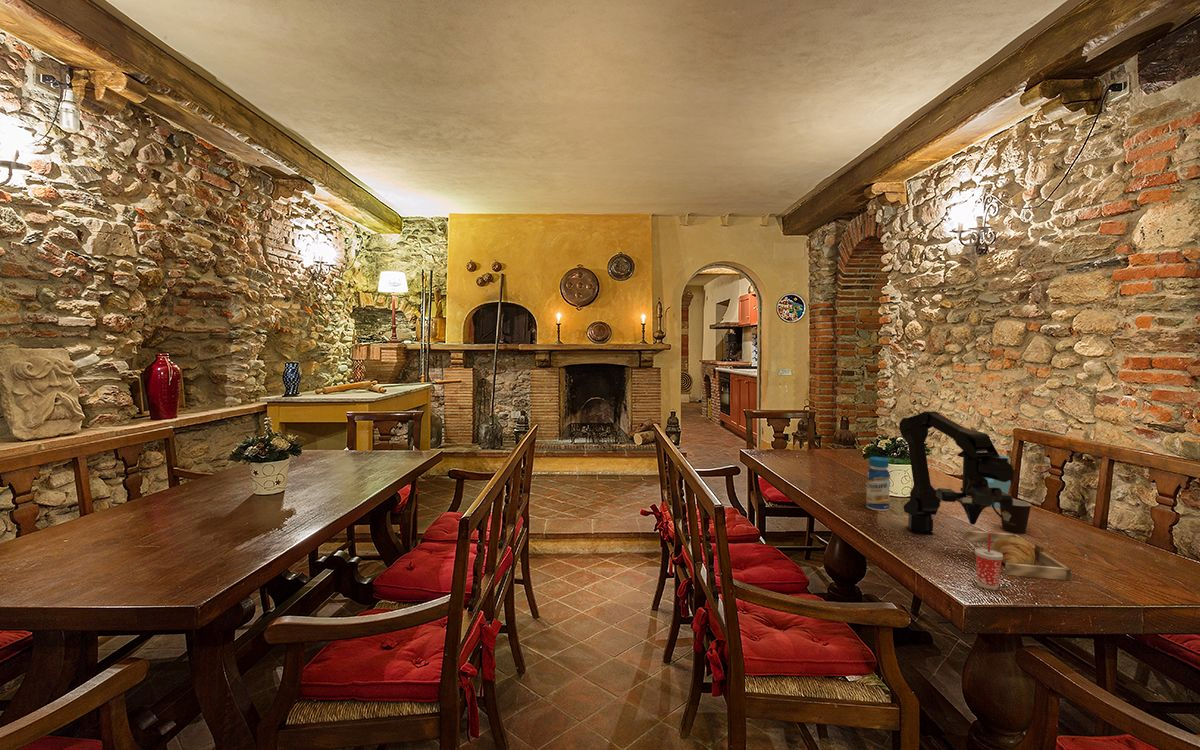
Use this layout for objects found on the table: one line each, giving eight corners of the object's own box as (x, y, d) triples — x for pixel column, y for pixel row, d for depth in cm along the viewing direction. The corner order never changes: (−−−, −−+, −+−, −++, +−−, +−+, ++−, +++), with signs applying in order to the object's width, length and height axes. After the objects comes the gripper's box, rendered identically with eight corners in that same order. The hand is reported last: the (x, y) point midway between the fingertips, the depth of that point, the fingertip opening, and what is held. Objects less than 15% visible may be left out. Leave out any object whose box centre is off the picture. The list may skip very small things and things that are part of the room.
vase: (975, 502, 215) (977, 454, 214) (990, 500, 217) (992, 453, 216) (994, 507, 208) (996, 458, 206) (1009, 506, 209) (1011, 457, 208)
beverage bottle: (891, 507, 207) (893, 458, 206) (886, 512, 201) (888, 461, 200) (868, 503, 213) (870, 455, 212) (862, 508, 207) (864, 458, 206)
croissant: (1024, 585, 147) (1042, 565, 144) (985, 561, 153) (1002, 540, 150) (1025, 560, 164) (1042, 541, 161) (990, 539, 169) (1006, 520, 166)
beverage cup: (984, 590, 137) (986, 538, 136) (967, 580, 143) (969, 530, 142) (1007, 590, 137) (1010, 538, 136) (990, 580, 143) (992, 530, 142)
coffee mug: (1035, 536, 177) (1036, 506, 176) (1006, 534, 178) (1007, 505, 178) (1015, 524, 188) (1016, 497, 187) (988, 522, 190) (989, 495, 189)
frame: (1006, 574, 146) (1007, 559, 146) (963, 539, 174) (963, 526, 173) (1070, 580, 143) (1071, 564, 143) (1015, 543, 170) (1016, 530, 170)
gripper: (950, 478, 154) (948, 530, 154) (1024, 482, 149) (1022, 536, 150) (935, 470, 164) (934, 518, 165) (1004, 473, 160) (1002, 523, 161)
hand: (972, 524), depth 160 cm, fingers closed
